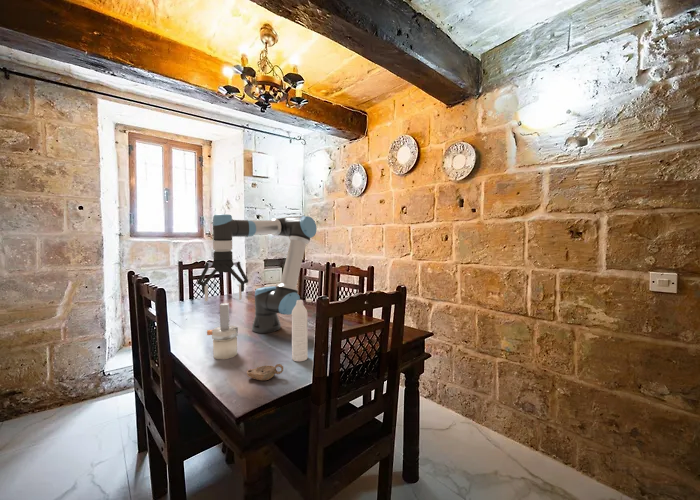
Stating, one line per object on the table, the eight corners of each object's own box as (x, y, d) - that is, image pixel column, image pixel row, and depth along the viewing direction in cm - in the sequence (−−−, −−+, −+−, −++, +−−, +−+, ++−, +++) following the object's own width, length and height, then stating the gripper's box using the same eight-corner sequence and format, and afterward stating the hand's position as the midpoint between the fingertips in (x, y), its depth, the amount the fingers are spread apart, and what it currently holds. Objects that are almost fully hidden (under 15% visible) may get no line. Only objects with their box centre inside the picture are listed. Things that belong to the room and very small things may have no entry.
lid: (238, 331, 139) (238, 300, 139) (236, 339, 129) (235, 306, 129) (209, 333, 136) (209, 302, 135) (205, 341, 126) (204, 308, 125)
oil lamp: (244, 382, 109) (243, 369, 109) (250, 373, 117) (250, 360, 116) (280, 382, 109) (280, 369, 109) (285, 373, 117) (285, 360, 116)
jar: (238, 349, 139) (237, 332, 139) (236, 358, 130) (235, 339, 130) (215, 351, 137) (215, 334, 136) (211, 360, 128) (211, 341, 127)
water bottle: (294, 363, 125) (294, 302, 124) (290, 357, 131) (289, 299, 130) (314, 359, 129) (314, 300, 128) (309, 353, 135) (309, 297, 134)
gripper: (253, 250, 138) (254, 296, 139) (192, 250, 131) (193, 299, 132) (253, 250, 130) (253, 300, 131) (188, 251, 124) (189, 303, 125)
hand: (223, 300), depth 132 cm, fingers open, 13 cm apart
